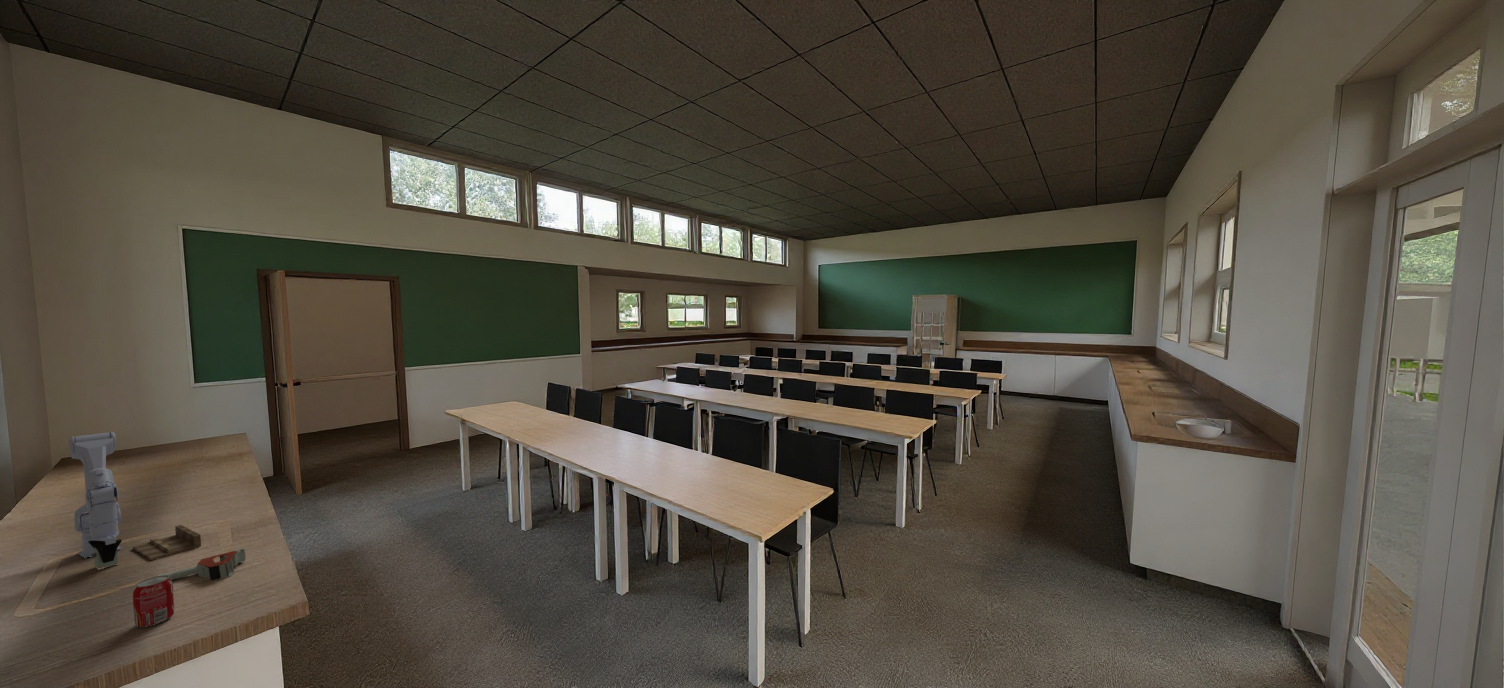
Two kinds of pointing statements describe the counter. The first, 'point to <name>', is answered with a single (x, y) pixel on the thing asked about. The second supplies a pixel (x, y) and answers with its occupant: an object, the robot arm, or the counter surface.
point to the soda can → (153, 601)
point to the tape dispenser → (212, 566)
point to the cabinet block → (99, 562)
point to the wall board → (170, 544)
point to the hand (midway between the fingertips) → (106, 560)
